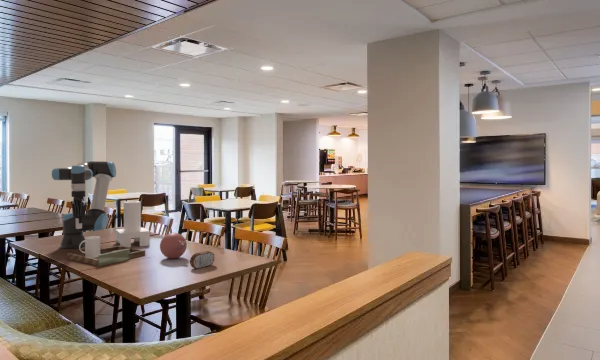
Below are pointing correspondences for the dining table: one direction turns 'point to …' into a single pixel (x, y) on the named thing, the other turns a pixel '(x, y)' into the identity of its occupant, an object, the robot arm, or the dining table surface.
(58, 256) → the dining table surface
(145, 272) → the dining table surface
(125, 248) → the wooden compartment tray
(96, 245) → the mug
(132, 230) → the white block stand
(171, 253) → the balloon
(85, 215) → the robot arm
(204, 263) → the tin
